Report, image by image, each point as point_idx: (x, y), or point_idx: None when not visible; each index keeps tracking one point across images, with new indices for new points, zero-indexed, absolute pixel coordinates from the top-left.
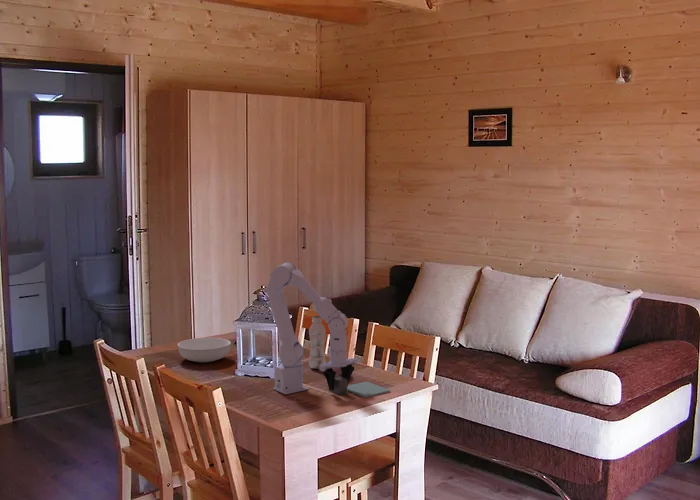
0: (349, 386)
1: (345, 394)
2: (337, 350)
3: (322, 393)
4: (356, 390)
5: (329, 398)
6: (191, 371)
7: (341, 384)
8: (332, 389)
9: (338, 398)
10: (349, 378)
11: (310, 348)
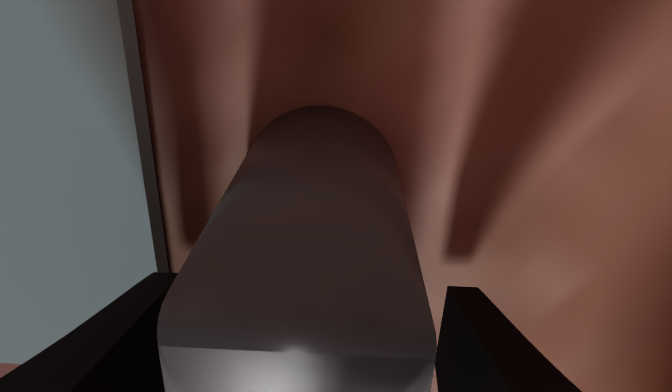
0: (68, 329)
1: (317, 110)
2: None
3: None
4: (56, 116)
5: (646, 131)
6: None
7: (399, 228)
8: (483, 295)
9: (543, 31)
10: (25, 368)
11: None
